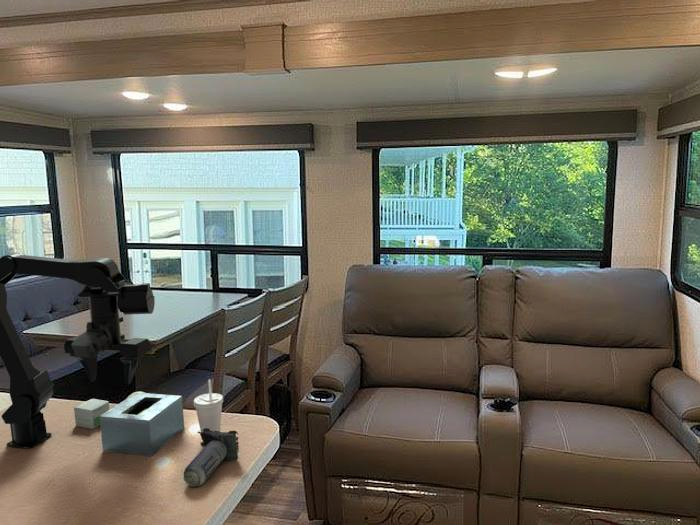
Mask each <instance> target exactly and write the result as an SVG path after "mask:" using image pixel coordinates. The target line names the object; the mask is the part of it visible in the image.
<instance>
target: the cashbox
mask: <svg viewBox="0 0 700 525" xmlns="http://www.w3.org/2000/svg"><path fill="white" fill-rule="evenodd" d="M134 393H135V392H134ZM129 396H130V395H129ZM145 409H147V410H145ZM143 410H145V411H144V412H143V413H141V414H140V415H137V414H139V413H140V412H142V411H143ZM184 416H185V415H184V406H183V395H176V394H175V395H174V394H160V393H147V392H144V393H135V394H134V395H132V396H130V397H129V398H128V397H126V399H124V400H123V401H121V402H120V403H118V404H116V405H114V406H113V407H111V408H109V410H108V411H107V412H105V413H104V414H102V415H100V416H99V418H100V425H99V426H100V427H99V428H100V434H101V435H100V436H101V443H102V444H101V445H102V452H108V453H109V452H110V453H117V452H118V453H119V454H127V455H139V456H148V457H153V456H155V454H157V453H158V452H159V451H161V449H162V448H163V447H165V446H166V445H167V444H168V443H170V441H171V440H173V439H174V438H175V437H176V436H177V435H178V434H180V433H181V432H182V431H183V430H184V429H185V420H184V419H185V417H184Z"/></svg>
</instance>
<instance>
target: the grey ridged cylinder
mask: <svg viewBox="0 0 700 525" xmlns="http://www.w3.org/2000/svg"><path fill="white" fill-rule="evenodd" d="M201 431H203V432H201ZM197 434H199V435H200V438H201V440H202V441H199V444H200V446H201V447H203V448H202V450H200V451H199V452H198V454H197V455H196V456H195V457H194V458H193V460H191V462H189V464H188V465H187V466H186V467H185V469H184V471H183V480H184V482H185V483H186V484H187V485H188V486H189V487H193V488H195V487H199V486H201V485H203V484H204V483H205V482H206V481H207V479H208V478H209V477H210V476H211V474H213V472H214V471H215V469H216V468H217V467H218V466H219V465H220V463H221V462H222V461H223V460H227V461H231V462H237V461H238V459H239V452H240V450H239V448H240V446H239V443H240V442H239V436H237V435H239V432H238V431H236V430H229V431H227V432H225V431H224V432H222V431H220V432H219V431H214V432H213V431H210V429H209V428H204V430H203V429H202V430H200V429H199V430H198V431H197Z"/></svg>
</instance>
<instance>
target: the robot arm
mask: <svg viewBox="0 0 700 525" xmlns="http://www.w3.org/2000/svg"><path fill="white" fill-rule="evenodd" d="M18 274H19V275H27V276H37V277H48V278H58V279H66V280H71V281H74V282H75V283H77V284H80V285H84V288H83V290H82V291H80V292H79V293H78V295H77V296H78V298H88V300H89V302H88V305H89V312H90V313H89V314H90V321H88V322H86V330H85V331H84V332H83V333H81V334H78V335H76V336H73V337H70V338H69V339H66V340H65V342H64V344H63V351H64V354H69V357H72V358H73V359H76V360H78V361H79V362H80V364H81V365H82V367H83V369H84V370H85V373H86V374H87V377H88V378H89V381H90V382H95V381H96V378H97V372H98V354H99V353H100V352H105V350H107V351H117V352H118V351H119V354H120V355H121V356H122V357H120V358H119V360H120V361H121V362H122V363H123V368H124V380H125V383H126V384H125V385H129V384H131V383H132V380H133V378H134V376H135V373H136V371H137V367H138V365H139V363H140V361H141V360H142V357H143V356H145V355H147V353H149V352H151V351H152V350H153V349H152V342H151V340H150V339H149V338H146V337H145V338H144V337H142V338H141V337H134V338H133V337H132V338H131V339H129V340H127V341H124V340H125V339H126V336H125V334H121V324H120V323H122V322H124V317H123V316H120V313H123V315H125V316H126V315H129V316H130V315H151V314H153V312H154V309H155V303H156V302H155V300H156V299H155V295H154V293H153V290H152V288H151V284H150V283H149V282H147V283H146V282H143V283H139V284H131V283H130V282H129V280H127V278H126V277H125V276H124V275H123V273H121V272H120V271H119V267H118V264H117V263H116V261H114V259H112V258H109V257H97V258H95V257H94V258H84V259H66V258H57V257H56V258H55V257H47V256H37V255H26V254H20V253H17V252H16V253H14V252H13V253H10V254H9V253H8V254H6V255H3V256H1V257H0V360H1V362H2V364H3V366H4V368H5V370H6V372H7V374H8V377H9V389H8V390H9V391H8V393H9V397H10V400H11V401H10V402H11V405H10V406H8V407H7V409H6V410H5V411H4V412H3V413H2V414H1V419H2V420H3V422H4V424H5V425H9V426H10V434H11V440H10V441H9V442H7V443H6V447H11V448H19V449H21V448H22V449H31V448H33V447H35V446H37V445H38V444H40V443H41V442H43V441H44V440H45V441H46V439H48V438H50V437H52V432H47V425H46V420H45V417H44V412H41V410H43V409H45V407H47V403H48V401H49V400H50V399H51V398H52V396H53V394H54V388H53V387H54V386H55V383H54V382H53V381H52V380H51V378H50V374H49V372H48V370H47V369H45V370H42V371H40V370H38V369H37V368H35V367H34V366H33V363H32V361H31V359H30V356H29V355H28V352H27V351H26V348H25V346H24V344H23V342H22V339H21V337H20V335H19V333H18V331H17V329H16V327H15V325H14V322H13V320H12V318H11V316H10V314H9V312H8V309H7V307H8V306H7V303H8V302H7V301H8V293H7V288H6V285H7V284H8V283H10V282H11V281H12V280H13V279H14V278H15V277H16V276H17V275H18ZM119 312H120V313H119Z"/></svg>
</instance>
